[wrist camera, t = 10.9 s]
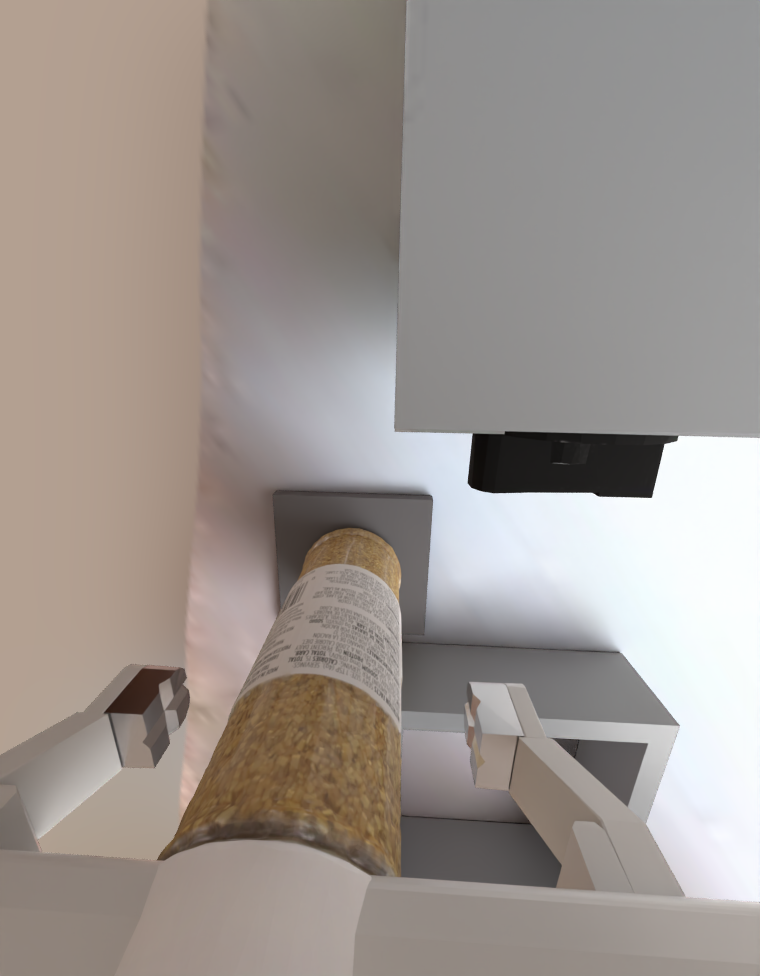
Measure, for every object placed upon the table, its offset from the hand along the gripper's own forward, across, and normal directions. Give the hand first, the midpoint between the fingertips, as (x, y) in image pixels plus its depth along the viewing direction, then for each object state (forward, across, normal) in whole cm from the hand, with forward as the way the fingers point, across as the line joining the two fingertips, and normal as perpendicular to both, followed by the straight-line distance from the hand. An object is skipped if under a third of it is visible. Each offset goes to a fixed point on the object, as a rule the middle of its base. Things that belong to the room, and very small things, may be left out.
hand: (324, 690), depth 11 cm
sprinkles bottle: (+7, 0, 0) cm, 7 cm away
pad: (+7, 0, 0) cm, 7 cm away
